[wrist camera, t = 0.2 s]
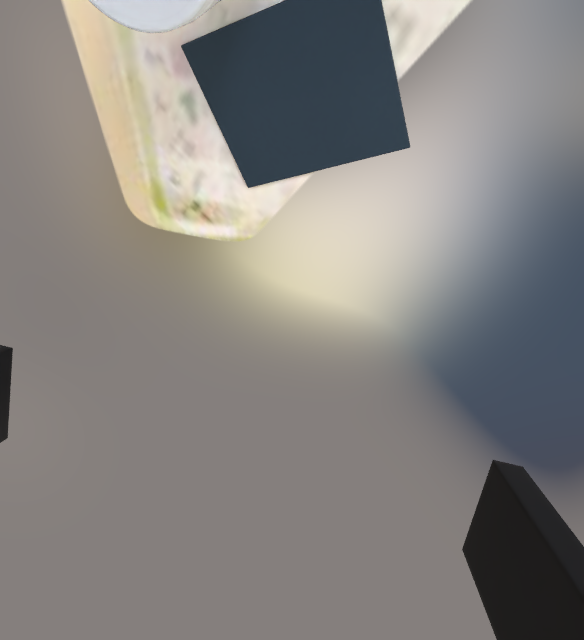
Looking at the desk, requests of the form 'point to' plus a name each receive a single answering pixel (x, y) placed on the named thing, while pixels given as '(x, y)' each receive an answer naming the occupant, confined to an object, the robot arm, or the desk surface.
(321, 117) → the mat
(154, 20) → the supplement tub
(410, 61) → the desk surface
